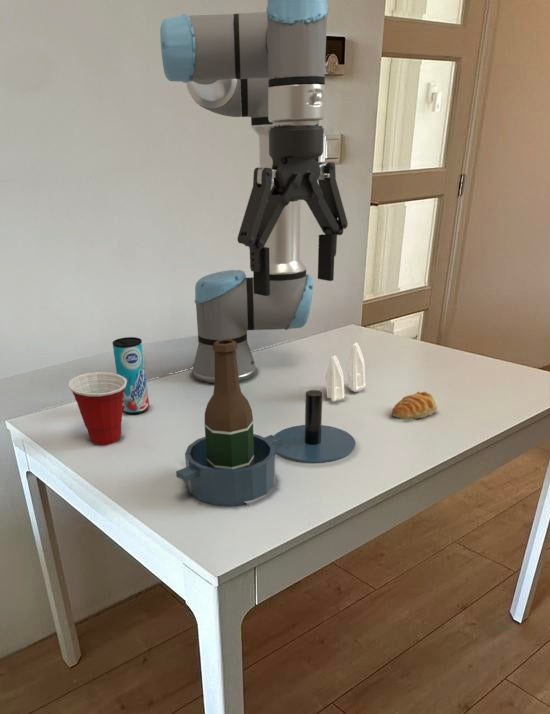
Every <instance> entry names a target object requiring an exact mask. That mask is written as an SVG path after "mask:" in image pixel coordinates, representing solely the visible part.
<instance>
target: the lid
mask: <svg viewBox="0 0 550 714" xmlns="http://www.w3.org/2000/svg"><path fill="white" fill-rule="evenodd" d="M304 398H305V399H304V400H305V401H304V402H305V403H304V404H305V405H304V410H305V411H304V424H301V425H295V426H290V427H286V428H284V429H281V430H279V431H278V432H277V433H275V434H274V435H273V436H275V437H277V438H279V439H280V444H279V445H276V446H274V447H275V455H276V454H277V455H278V456H280V457H281V458H284V459H286V460H289V461H293V462H296V463H297V462H298V463H304V464H305V463H306V464H322V463H331V462H335V461H338V460H342V459H343V458H346V457H347V456H350V455H351V454H352V453H353V452H354V450H355V448H356V439H355V438H354V436H352V435H351V434H350V433H349V432H347V431H346V430H343V429H341V428H338V427H334V426H330V425H324V424H322V423H323V421H322V419H323V418H322V417H323V391H321V390H317V389H311V390H307V391H305V397H304Z"/></svg>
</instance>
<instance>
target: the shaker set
mask: <svg viewBox="0 0 550 714" xmlns="http://www.w3.org/2000/svg"><path fill="white" fill-rule="evenodd" d="M366 385H367V384H366V367H365V359H364V355H363V353H362V350H361V347H360V345H359V343H358V342H354V343H353V344H352V346H351V350H350V353H349V357H348V361H347V387H348V389H349V390H350V391H351V392H354V393H359V392H360V391H363V389H365V388H366ZM325 386H326V398H327V399H328V398H329V399H331V402H336V400H341V399H344V398H345V381H344V372H343V369H342V367H341V363H340V361H339V359H338V357H337V356H336V355H335V354H333V355H331V357H330V360H329V363H328V366H327V371H326V375H325Z"/></svg>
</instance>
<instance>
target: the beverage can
mask: <svg viewBox="0 0 550 714" xmlns="http://www.w3.org/2000/svg"><path fill="white" fill-rule="evenodd" d="M142 342H143V341H142V339H141V338H139V337H135V336H128V337H121V338H116V339H115V340H113V341H112V349H113V356H114V363H115V371H116V374H118V375H120V376H123V377H124V378H125V379H126V380H127V384H126V387H125V388H124V393H123V404H122V412H123V413H125V414H128V415H140V414H144V413H146V412H147V411H148V410H149V409H150V400H149V391H148V383H147V373H146V366H145V365H146V364H145V358H144V356H145V355H144V350H143V349H144V348H143V343H142Z"/></svg>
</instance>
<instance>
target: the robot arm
mask: <svg viewBox="0 0 550 714" xmlns="http://www.w3.org/2000/svg"><path fill="white" fill-rule="evenodd" d="M328 15H329V7H328V0H267V5H266V11H260V12H259V11H258V12H242V13H241V12H240V13H231V14H229V13H228V14H227V13H226V14H197V15H195V14H193V15H192V14H191V15H188V14H185V13H184V14H181V15H179V16H170V17H165V18H164V19H163V20H162V21H161V23H160V27H159V28H160V29H159V30H160V31H159V32H160V33H159V35H160V39H159V40H160V52H161V60H162V61H161V63H162V67H163V74H164V76H165V79H167V80H168V81H169V82H177V83H178V82H179V83H180V82H182V83H183V84H186V88H187V91H188V93H189V95H190V96H191V98H192V99H193V100H194V103H196V104H197V105H199V106H200V107H201V108H202V109H204V110H207V111H209V112H211V113H214V114H218V115H221V116H224V117H232V118H245V117H246V118H247V117H248V118H250V121H251V122H250V123H251V124H250V125H251V129H252V130H253V131H254V132H255V133H256V135H257V136H258V147H259V148H258V149H259V154H258V155H259V156H258V157H259V167H255V168H254V170H253V179H252V180H253V181H252V188H251V190H250V195H249V198H248V202H247V204H246V208H245V212H244V215H243V218H242V221H241V225H240V228H239V232H238V235H237V239H236V240H237V243H238V244H240V245H241V244H242V245H244V246H245V247H248V249H249V268H250V271H251V272H253V275H252V277H251V276H250V277H247V274H246V272H245V271H244V270H241V269H235V270H234V269H230V270H222V271H218V272H214V273H213V272H212V273H210V274H207V275H204V276H202V277H200V278H199V279H198V280H197V281H196V283H195V286H194V294H195V295H194V297H195V298H194V304H195V309H196V311H195V312H196V327H197V342H198V343H197V350H196V353H195V357H194V361H193V362H194V363H193V365H192V375H193V378H194V379H196V380H197V381H199V382H202V383H207V384H212V385H213V384H214V385H215V351H214V350H213V344H214V343H215V342H216V341H218V340H222V339H231V340H233V341H235V342H236V344H237V347H238V348H237V349H236V357H237V367H238V377H239V383H241V382H243V381H247V380H249V379H251V378H253V377H254V376H255V375H256V373H257V372H256V363H255V362H256V361H255V360H254V357H253V354H252V350H251V348H250V345H249V343H248V331H268V330H269V331H270V330H272V331H273V330H285V331H289V330H290V329H291V330H292V329H300V328H301V329H302V328H304V327H305V325H306V324H307V322H308V320H309V317H310V313H311V308H312V299H313V288H314V287H313V285H314V278H313V276H312V275H310V274H307V266H306V265H305V264H304V263H303V262H302V261H301V257H300V256H301V201H305V203H306V204H307V206H308V208H309V209H310V211H311V213H312V215H313V217H314V218H315V220H316V222H317V224H318V226H319V227H320V229H321V231H322V233H323V234H319V235H318V249H317V250H318V251H317V252H318V254H317V255H318V256H317V280H323V281H326V282H332V281H334V279H335V277H334V275H335V257H336V256H337V247H338V245H337V243H338V236H342V235H343V233H344V230H345V229H347V228H348V226H349V225H348V224H349V223H348V219H347V215H346V211H345V208H344V204H343V201H342V197H341V194H340V190H339V186H338V183H337V182H338V181H337V179H336V178H337V177H336V175H337V174H336V164H335V162H333V161H319V158H320V157H321V156H323V154H324V139H325V138H324V136H325V135H324V134H325V128H324V127H323V125H320V121H323V120H324V118H325V89H326V87H325V86H326V85H325V84H326V78H325V76H326V54H327V53H326V51H327V29H328V27H327V25H328Z"/></svg>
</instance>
